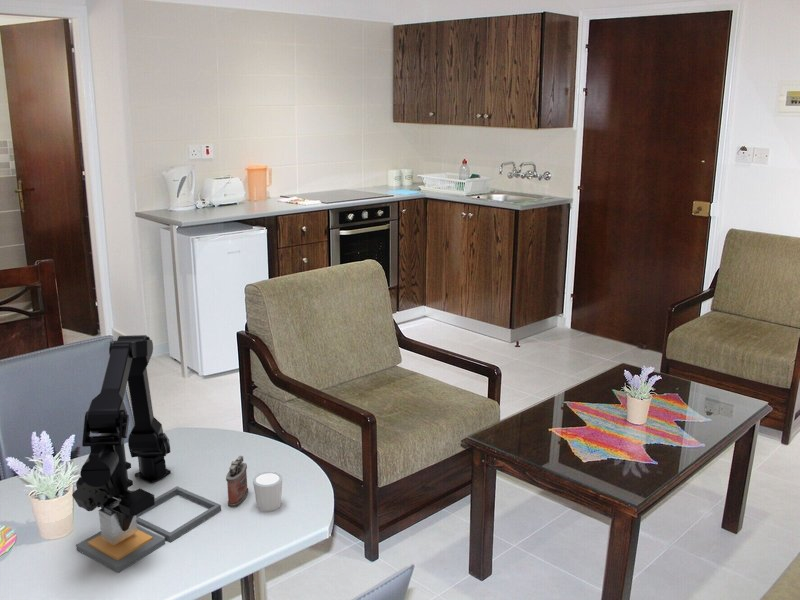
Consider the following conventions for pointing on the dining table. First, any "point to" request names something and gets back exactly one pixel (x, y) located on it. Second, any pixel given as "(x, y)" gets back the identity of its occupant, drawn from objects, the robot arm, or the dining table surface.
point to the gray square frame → (171, 536)
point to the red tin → (237, 482)
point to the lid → (122, 548)
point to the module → (114, 525)
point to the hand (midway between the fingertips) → (119, 527)
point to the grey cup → (268, 490)
